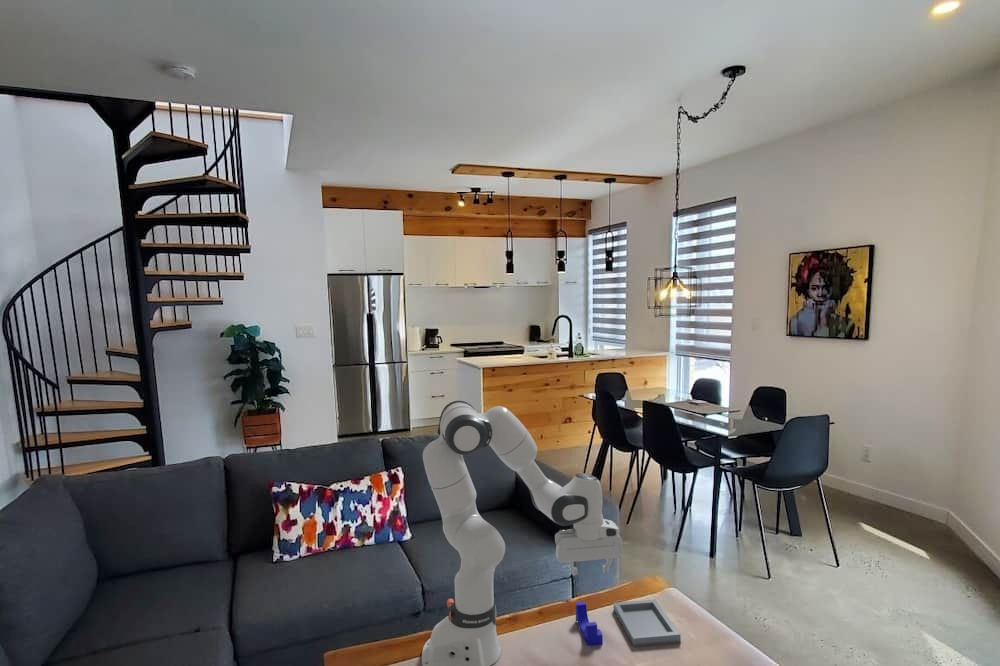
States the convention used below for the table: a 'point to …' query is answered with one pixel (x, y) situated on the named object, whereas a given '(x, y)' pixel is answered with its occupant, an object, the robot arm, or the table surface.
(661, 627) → the tray
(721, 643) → the table surface
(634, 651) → the table surface
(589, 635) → the blue angular stepped piece
